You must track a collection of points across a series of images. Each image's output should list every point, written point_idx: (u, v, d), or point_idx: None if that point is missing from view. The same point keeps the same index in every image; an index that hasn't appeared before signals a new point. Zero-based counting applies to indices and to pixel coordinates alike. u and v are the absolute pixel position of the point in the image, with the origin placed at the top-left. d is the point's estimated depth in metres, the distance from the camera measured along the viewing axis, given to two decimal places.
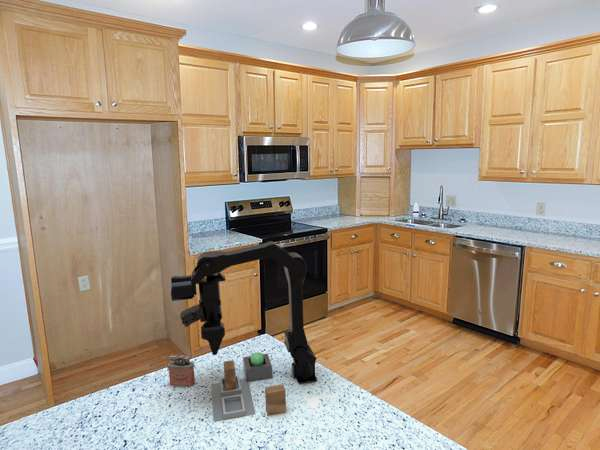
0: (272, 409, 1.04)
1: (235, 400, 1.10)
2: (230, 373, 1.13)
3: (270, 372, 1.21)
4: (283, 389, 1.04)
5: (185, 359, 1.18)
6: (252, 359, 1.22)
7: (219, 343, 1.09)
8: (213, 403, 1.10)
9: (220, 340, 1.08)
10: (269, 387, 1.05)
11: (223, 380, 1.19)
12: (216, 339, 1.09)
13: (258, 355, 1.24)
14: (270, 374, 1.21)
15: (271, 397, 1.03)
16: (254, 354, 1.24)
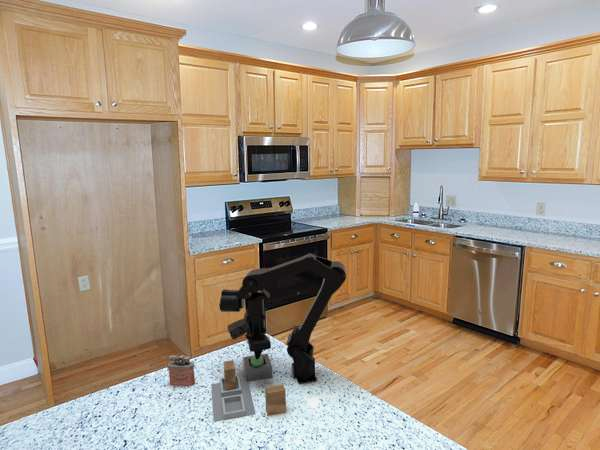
0: (272, 409, 1.04)
1: (235, 400, 1.10)
2: (230, 373, 1.13)
3: (270, 372, 1.21)
4: (283, 389, 1.04)
5: (185, 359, 1.18)
6: (252, 362, 1.22)
7: None
8: (213, 403, 1.10)
9: None
10: (269, 387, 1.05)
11: (223, 380, 1.19)
12: None
13: None
14: (270, 374, 1.21)
15: (271, 397, 1.03)
16: (254, 357, 1.24)
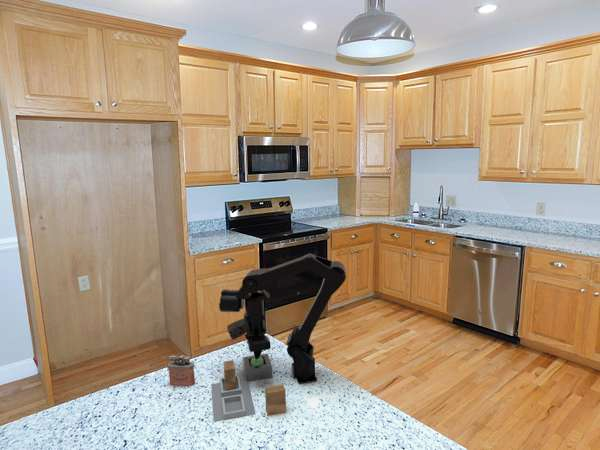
0: (272, 409, 1.04)
1: (235, 400, 1.10)
2: (230, 373, 1.13)
3: (270, 372, 1.21)
4: (283, 389, 1.04)
5: (185, 359, 1.18)
6: (252, 364, 1.22)
7: None
8: (213, 403, 1.10)
9: None
10: (269, 387, 1.05)
11: (223, 380, 1.19)
12: None
13: (258, 360, 1.24)
14: (270, 374, 1.21)
15: (271, 397, 1.03)
16: (254, 359, 1.25)
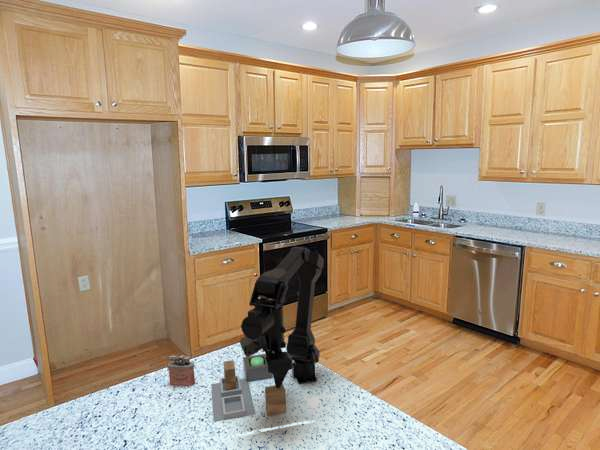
0: (272, 409, 1.04)
1: (235, 400, 1.10)
2: (230, 373, 1.13)
3: None
4: (283, 389, 1.04)
5: (185, 359, 1.18)
6: (252, 364, 1.22)
7: (284, 375, 0.98)
8: (213, 403, 1.10)
9: (285, 372, 0.98)
10: (269, 387, 1.05)
11: (223, 380, 1.19)
12: (281, 371, 0.98)
13: (258, 360, 1.24)
14: (270, 374, 1.21)
15: (271, 397, 1.03)
16: (254, 359, 1.25)
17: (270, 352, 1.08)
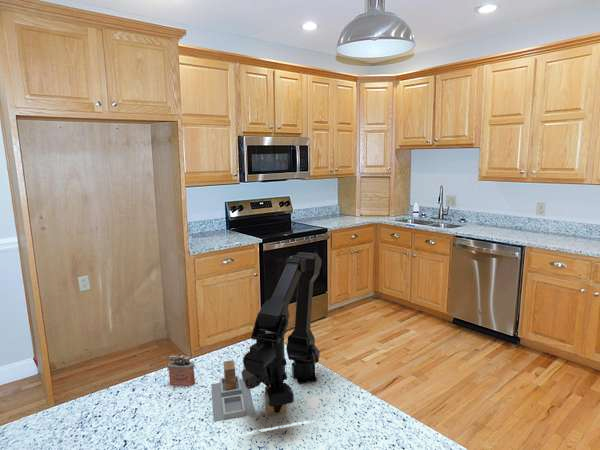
0: (272, 409, 1.04)
1: (235, 400, 1.10)
2: (230, 373, 1.13)
3: None
4: None
5: (185, 359, 1.18)
6: None
7: None
8: (213, 403, 1.10)
9: None
10: (269, 387, 1.05)
11: (223, 380, 1.19)
12: None
13: None
14: None
15: None
16: None
17: None
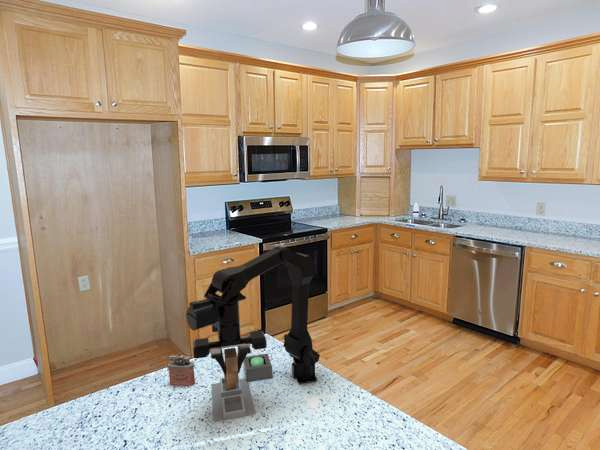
0: None
1: (235, 400, 1.10)
2: None
3: (270, 372, 1.21)
4: (227, 357, 1.02)
5: (185, 359, 1.18)
6: (252, 364, 1.22)
7: (219, 364, 1.02)
8: (213, 403, 1.10)
9: None
10: (233, 349, 1.06)
11: (223, 380, 1.19)
12: None
13: (258, 360, 1.24)
14: (270, 374, 1.21)
15: None
16: (254, 359, 1.25)
17: (238, 355, 1.05)
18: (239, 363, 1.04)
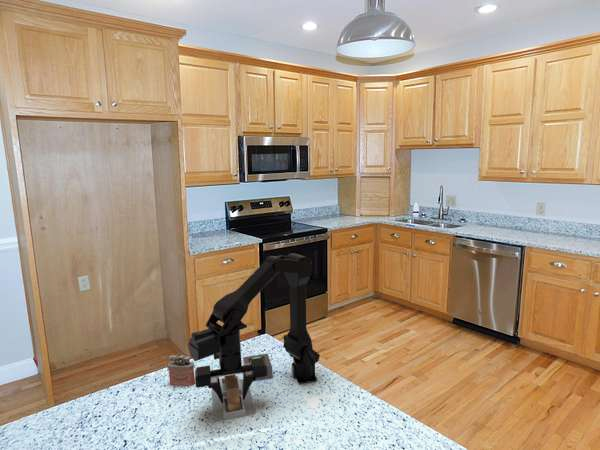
0: (227, 398, 1.07)
1: None
2: None
3: (270, 372, 1.21)
4: (229, 388, 1.04)
5: (185, 359, 1.18)
6: None
7: None
8: (213, 403, 1.10)
9: None
10: (235, 380, 1.07)
11: (223, 380, 1.19)
12: None
13: None
14: (270, 374, 1.21)
15: (226, 386, 1.07)
16: None
17: (243, 382, 1.07)
18: (245, 390, 1.05)
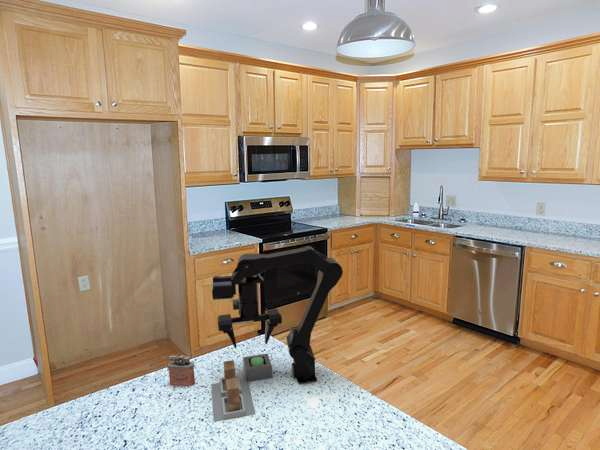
0: (227, 398, 1.07)
1: None
2: (230, 373, 1.13)
3: (270, 372, 1.21)
4: (229, 388, 1.04)
5: (185, 359, 1.18)
6: (252, 364, 1.22)
7: None
8: (213, 403, 1.10)
9: None
10: (235, 380, 1.07)
11: (223, 380, 1.19)
12: None
13: (258, 360, 1.24)
14: (270, 374, 1.21)
15: (226, 386, 1.07)
16: (254, 359, 1.25)
17: (266, 328, 1.20)
18: (267, 335, 1.18)
